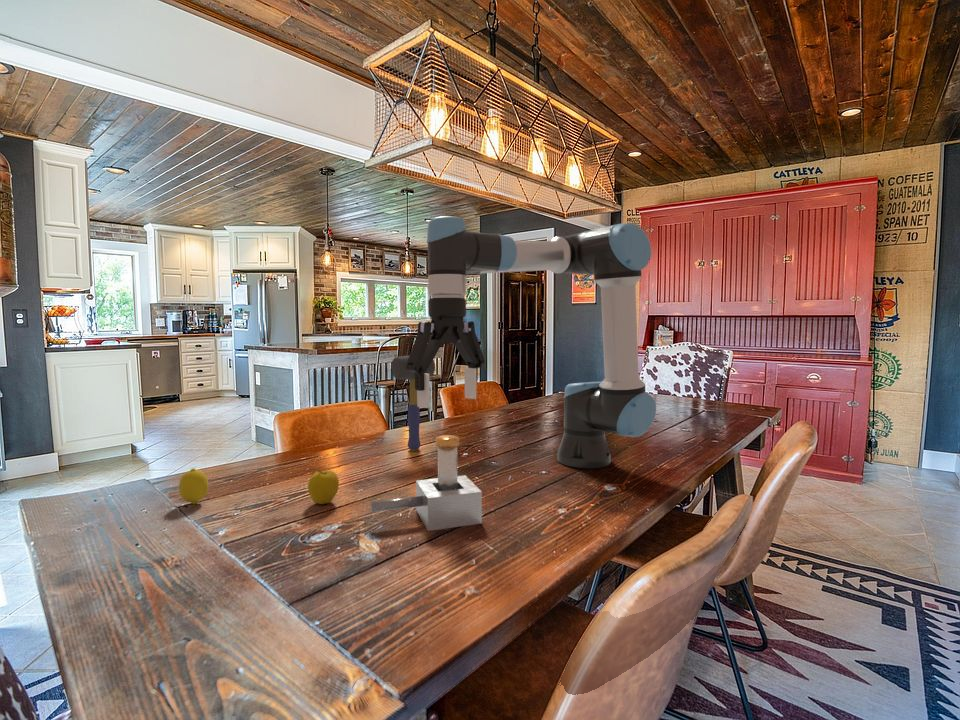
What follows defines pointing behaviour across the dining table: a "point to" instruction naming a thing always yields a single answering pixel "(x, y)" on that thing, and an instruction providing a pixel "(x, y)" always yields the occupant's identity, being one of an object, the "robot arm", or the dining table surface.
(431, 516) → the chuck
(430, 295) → the robot arm
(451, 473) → the grey gold cylinder
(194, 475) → the lemon
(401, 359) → the rubber mallet
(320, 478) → the apple
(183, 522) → the dining table surface
